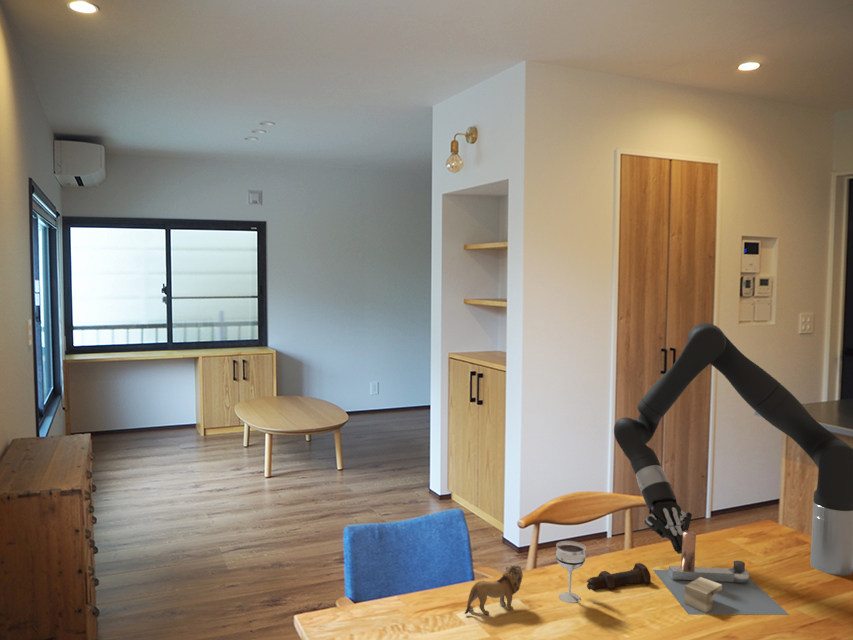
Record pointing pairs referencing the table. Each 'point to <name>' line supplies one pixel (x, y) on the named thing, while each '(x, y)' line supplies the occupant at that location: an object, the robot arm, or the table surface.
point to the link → (692, 573)
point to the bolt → (620, 578)
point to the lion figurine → (497, 588)
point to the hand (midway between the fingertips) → (682, 552)
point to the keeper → (701, 593)
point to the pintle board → (727, 596)
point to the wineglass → (570, 564)
